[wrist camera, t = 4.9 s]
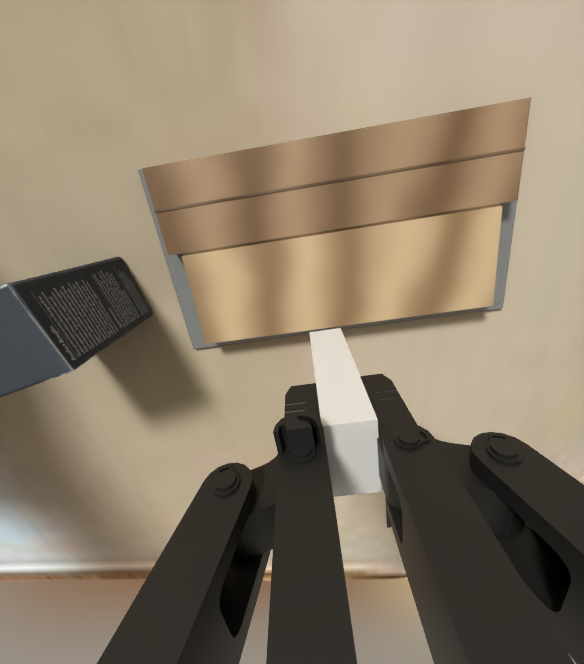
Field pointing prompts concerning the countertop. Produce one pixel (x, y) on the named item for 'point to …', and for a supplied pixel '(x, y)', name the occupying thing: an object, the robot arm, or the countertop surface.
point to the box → (64, 320)
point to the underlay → (198, 340)
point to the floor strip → (342, 179)
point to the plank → (347, 275)
